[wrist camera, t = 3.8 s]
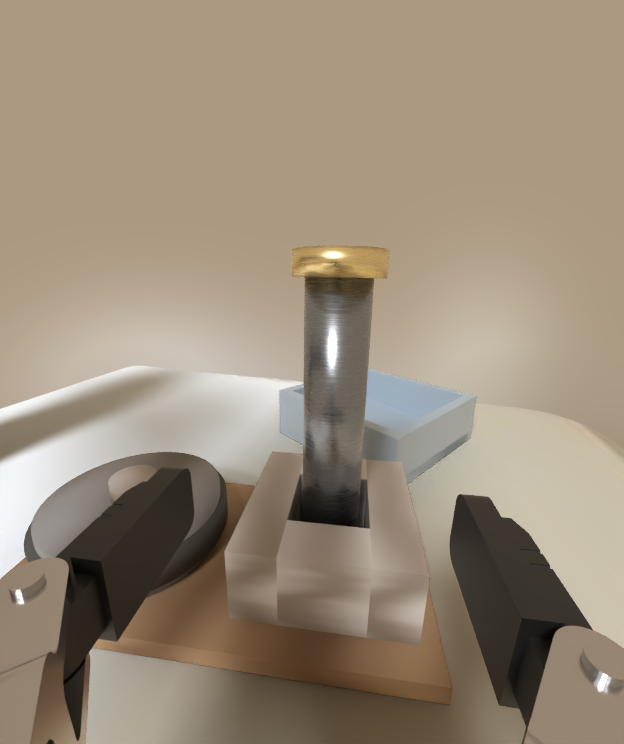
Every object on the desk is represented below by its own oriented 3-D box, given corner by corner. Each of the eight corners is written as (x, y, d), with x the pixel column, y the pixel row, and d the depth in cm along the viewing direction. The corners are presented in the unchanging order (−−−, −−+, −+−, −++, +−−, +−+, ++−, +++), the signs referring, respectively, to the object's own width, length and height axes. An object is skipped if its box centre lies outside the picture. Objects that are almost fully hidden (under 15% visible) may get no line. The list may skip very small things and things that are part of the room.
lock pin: (276, 552, 20) (272, 248, 15) (328, 518, 23) (337, 254, 18) (329, 604, 17) (343, 243, 12) (380, 557, 20) (409, 251, 15)
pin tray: (279, 432, 38) (279, 390, 36) (363, 401, 48) (365, 367, 46) (392, 494, 27) (397, 439, 26) (469, 438, 37) (476, 396, 36)
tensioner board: (-34, 627, 16) (-65, 541, 15) (125, 483, 28) (116, 427, 27) (448, 704, 14) (466, 609, 12) (406, 511, 25) (413, 449, 24)
